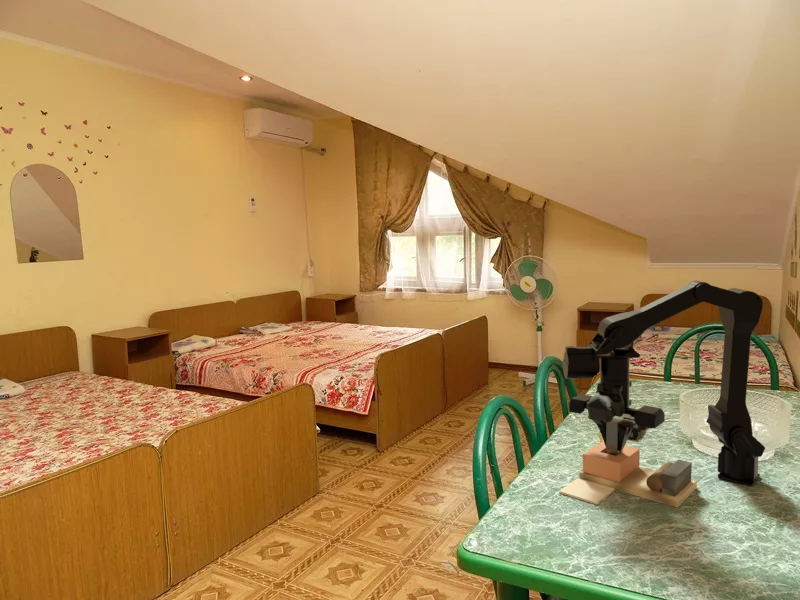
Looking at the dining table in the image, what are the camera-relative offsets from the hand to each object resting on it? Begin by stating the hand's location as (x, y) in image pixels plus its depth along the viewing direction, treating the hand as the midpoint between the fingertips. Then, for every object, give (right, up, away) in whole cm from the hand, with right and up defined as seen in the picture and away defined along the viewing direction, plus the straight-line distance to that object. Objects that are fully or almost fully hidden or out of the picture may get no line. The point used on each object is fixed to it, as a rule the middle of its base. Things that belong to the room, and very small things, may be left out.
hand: (614, 449), depth 124 cm
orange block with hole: (0, -5, +1) cm, 5 cm away
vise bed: (+4, -6, -3) cm, 8 cm away
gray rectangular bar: (0, -4, 0) cm, 4 cm away
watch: (+6, -4, +18) cm, 20 cm away
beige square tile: (-8, -7, -6) cm, 12 cm away
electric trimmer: (+16, -3, +28) cm, 33 cm away
